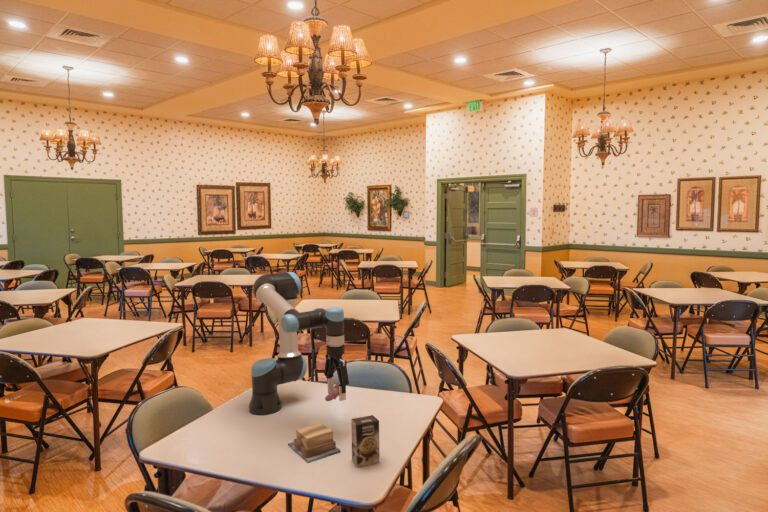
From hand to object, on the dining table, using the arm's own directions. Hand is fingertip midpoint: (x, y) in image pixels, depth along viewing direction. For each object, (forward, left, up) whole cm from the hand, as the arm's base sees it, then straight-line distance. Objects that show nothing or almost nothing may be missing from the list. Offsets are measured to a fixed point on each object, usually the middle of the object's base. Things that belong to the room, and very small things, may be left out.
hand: (336, 396), depth 208 cm
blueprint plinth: (+7, -15, -16) cm, 23 cm away
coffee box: (+28, -4, -16) cm, 33 cm away
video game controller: (0, -1, 0) cm, 1 cm away
